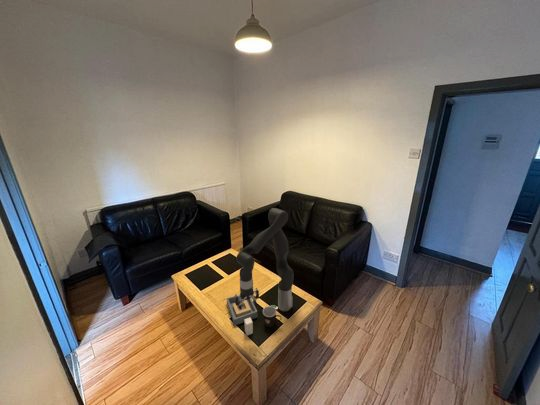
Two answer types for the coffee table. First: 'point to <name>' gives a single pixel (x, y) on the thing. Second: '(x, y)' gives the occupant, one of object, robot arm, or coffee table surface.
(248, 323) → the peg
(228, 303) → the walled box
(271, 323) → the coffee mug
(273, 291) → the coffee table surface
